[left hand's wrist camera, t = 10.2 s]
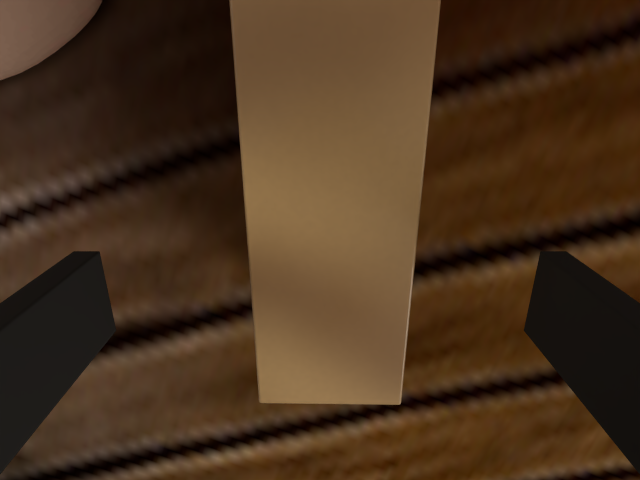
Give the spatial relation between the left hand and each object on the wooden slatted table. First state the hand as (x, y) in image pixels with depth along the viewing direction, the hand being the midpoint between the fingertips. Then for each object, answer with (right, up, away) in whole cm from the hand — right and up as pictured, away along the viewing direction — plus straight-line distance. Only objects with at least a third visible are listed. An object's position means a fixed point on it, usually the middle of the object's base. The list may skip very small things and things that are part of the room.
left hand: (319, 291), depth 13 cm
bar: (0, +24, -2) cm, 24 cm away
